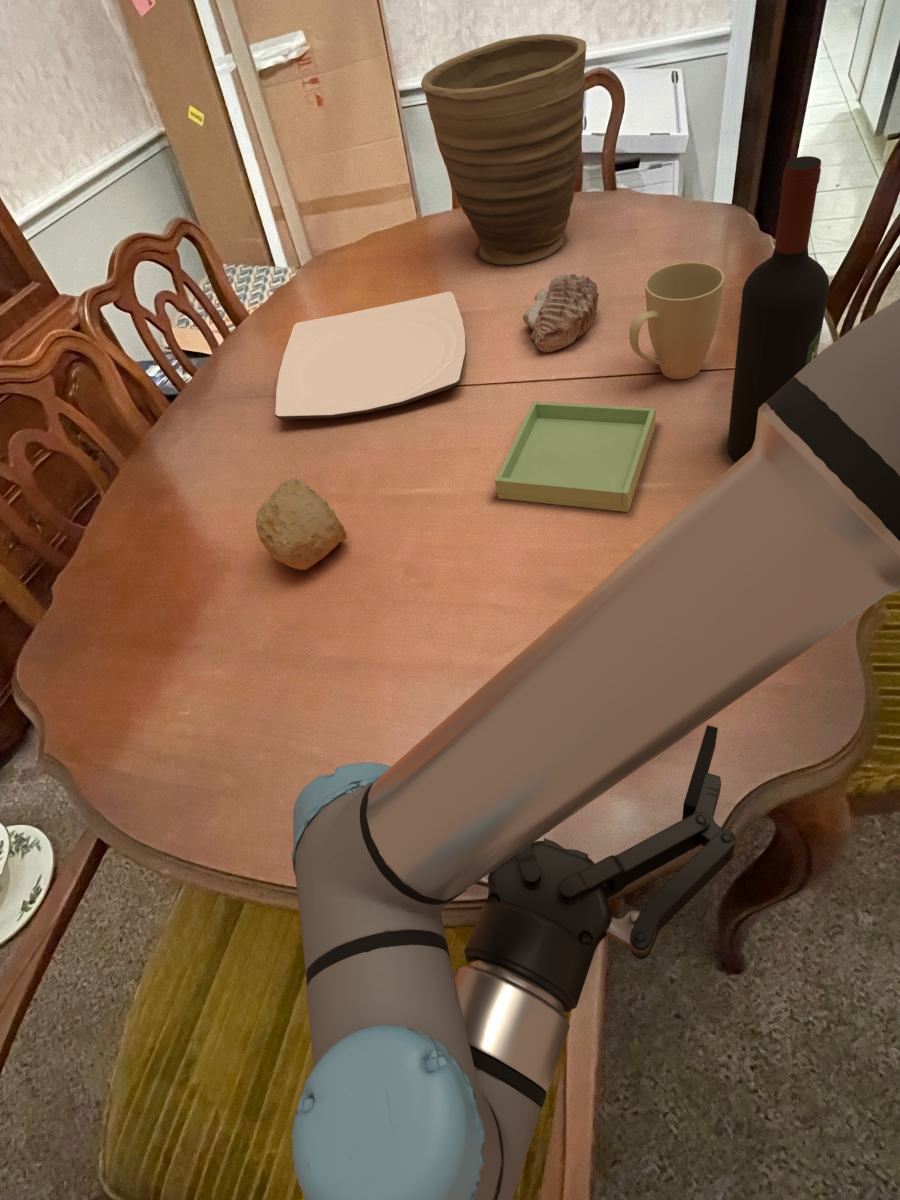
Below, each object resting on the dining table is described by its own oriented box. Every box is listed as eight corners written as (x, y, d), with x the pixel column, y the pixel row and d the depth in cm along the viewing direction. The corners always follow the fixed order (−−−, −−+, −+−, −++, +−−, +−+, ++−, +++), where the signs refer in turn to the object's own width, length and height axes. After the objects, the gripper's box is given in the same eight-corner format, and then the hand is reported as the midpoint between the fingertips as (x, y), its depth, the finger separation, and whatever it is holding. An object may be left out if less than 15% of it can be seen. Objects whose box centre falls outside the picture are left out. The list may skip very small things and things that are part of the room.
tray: (655, 427, 91) (655, 407, 89) (628, 512, 83) (627, 493, 81) (535, 419, 97) (532, 401, 95) (498, 498, 88) (494, 480, 86)
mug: (644, 349, 102) (644, 262, 94) (721, 349, 99) (728, 260, 90) (629, 397, 96) (627, 309, 87) (710, 399, 93) (717, 308, 84)
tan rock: (365, 493, 83) (286, 513, 77) (356, 568, 89) (281, 592, 83) (318, 455, 88) (239, 470, 82) (312, 528, 94) (238, 548, 88)
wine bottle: (721, 432, 88) (746, 155, 66) (789, 423, 87) (837, 138, 65) (734, 474, 83) (766, 189, 61) (807, 465, 82) (866, 171, 60)
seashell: (532, 285, 114) (559, 232, 105) (587, 311, 115) (619, 262, 106) (508, 353, 108) (535, 304, 99) (567, 380, 109) (598, 334, 100)
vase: (590, 207, 136) (601, 8, 111) (564, 288, 124) (570, 85, 99) (460, 200, 142) (442, 9, 117) (423, 277, 130) (394, 82, 105)
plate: (272, 439, 105) (264, 424, 103) (293, 335, 125) (287, 320, 123) (472, 402, 102) (469, 385, 100) (463, 301, 121) (460, 285, 119)
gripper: (363, 928, 55) (481, 694, 66) (719, 1096, 44) (787, 784, 55) (331, 891, 49) (466, 642, 60) (729, 1072, 39) (802, 731, 50)
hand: (620, 710), depth 58 cm, fingers open, 13 cm apart
